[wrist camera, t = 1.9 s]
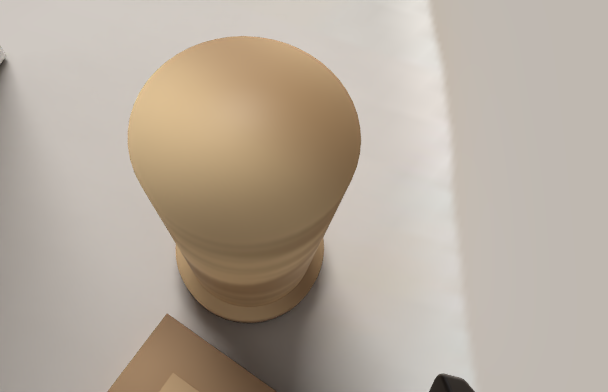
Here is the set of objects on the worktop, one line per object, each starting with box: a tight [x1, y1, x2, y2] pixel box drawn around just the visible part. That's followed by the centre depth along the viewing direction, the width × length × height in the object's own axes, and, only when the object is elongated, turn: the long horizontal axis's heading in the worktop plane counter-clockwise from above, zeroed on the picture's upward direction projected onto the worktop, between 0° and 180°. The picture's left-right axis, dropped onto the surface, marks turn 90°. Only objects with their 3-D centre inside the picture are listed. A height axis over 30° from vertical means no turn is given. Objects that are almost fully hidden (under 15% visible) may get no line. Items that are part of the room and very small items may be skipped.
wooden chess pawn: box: [128, 36, 361, 323], centre depth 15 cm, size 6×6×10 cm
